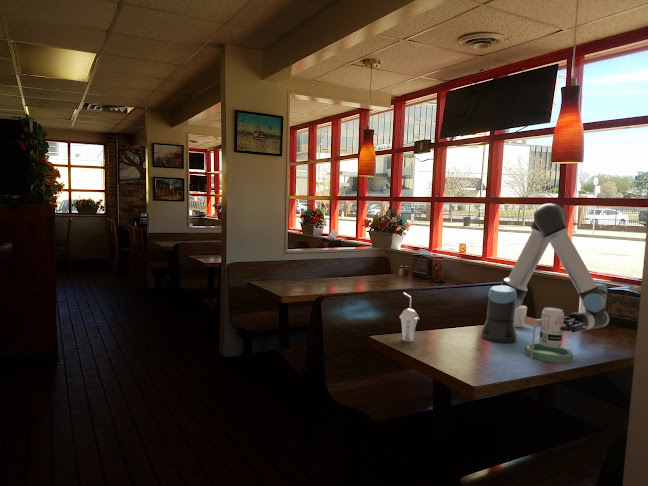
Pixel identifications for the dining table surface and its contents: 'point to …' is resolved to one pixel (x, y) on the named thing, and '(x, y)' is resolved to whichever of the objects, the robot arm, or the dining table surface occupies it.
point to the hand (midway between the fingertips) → (544, 326)
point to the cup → (546, 348)
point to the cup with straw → (408, 322)
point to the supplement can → (551, 327)
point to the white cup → (520, 316)
